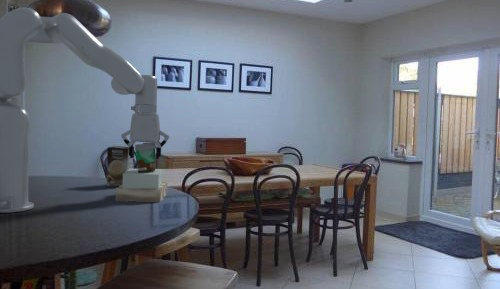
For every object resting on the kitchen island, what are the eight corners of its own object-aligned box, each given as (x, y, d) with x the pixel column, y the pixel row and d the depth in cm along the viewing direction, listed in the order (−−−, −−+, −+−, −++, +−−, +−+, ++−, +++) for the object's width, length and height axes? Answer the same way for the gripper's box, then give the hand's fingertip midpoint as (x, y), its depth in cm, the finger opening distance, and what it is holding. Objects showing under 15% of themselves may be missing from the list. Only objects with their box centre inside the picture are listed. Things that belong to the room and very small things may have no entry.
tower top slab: (158, 188, 152) (158, 174, 151) (122, 188, 150) (122, 173, 150) (161, 182, 167) (162, 169, 167) (129, 181, 166) (129, 168, 166)
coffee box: (105, 186, 180) (106, 147, 180) (112, 184, 187) (112, 146, 186) (127, 187, 180) (128, 148, 179) (133, 185, 186) (133, 147, 185)
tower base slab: (159, 204, 151) (160, 189, 150) (115, 202, 150) (115, 188, 150) (167, 195, 168) (167, 182, 167) (127, 194, 167) (127, 181, 167)
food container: (154, 172, 152) (152, 143, 152) (137, 173, 152) (134, 144, 152) (161, 168, 165) (159, 141, 164) (145, 169, 165) (143, 142, 164)
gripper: (118, 109, 153) (117, 158, 154) (168, 110, 154) (167, 160, 155) (123, 109, 161) (123, 156, 161) (171, 111, 161) (170, 158, 162)
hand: (144, 158), depth 158 cm, fingers open, 8 cm apart
